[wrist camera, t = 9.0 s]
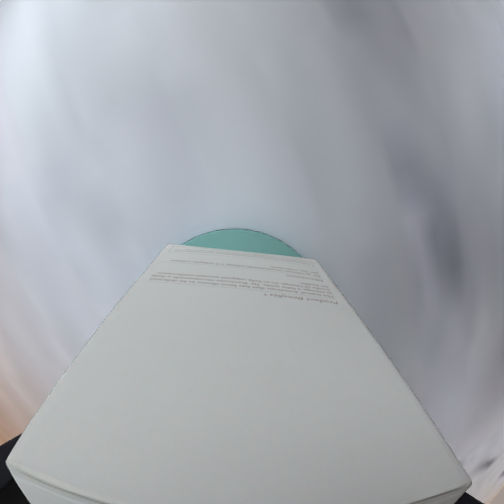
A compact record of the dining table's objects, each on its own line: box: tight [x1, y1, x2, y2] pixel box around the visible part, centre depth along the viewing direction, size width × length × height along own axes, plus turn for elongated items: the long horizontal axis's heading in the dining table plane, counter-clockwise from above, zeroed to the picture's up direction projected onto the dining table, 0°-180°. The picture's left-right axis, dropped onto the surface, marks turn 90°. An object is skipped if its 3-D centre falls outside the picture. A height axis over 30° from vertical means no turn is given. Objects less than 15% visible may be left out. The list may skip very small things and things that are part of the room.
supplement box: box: [6, 244, 472, 504], centre depth 10 cm, size 7×7×13 cm
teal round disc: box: [182, 229, 302, 258], centre depth 16 cm, size 9×9×1 cm
